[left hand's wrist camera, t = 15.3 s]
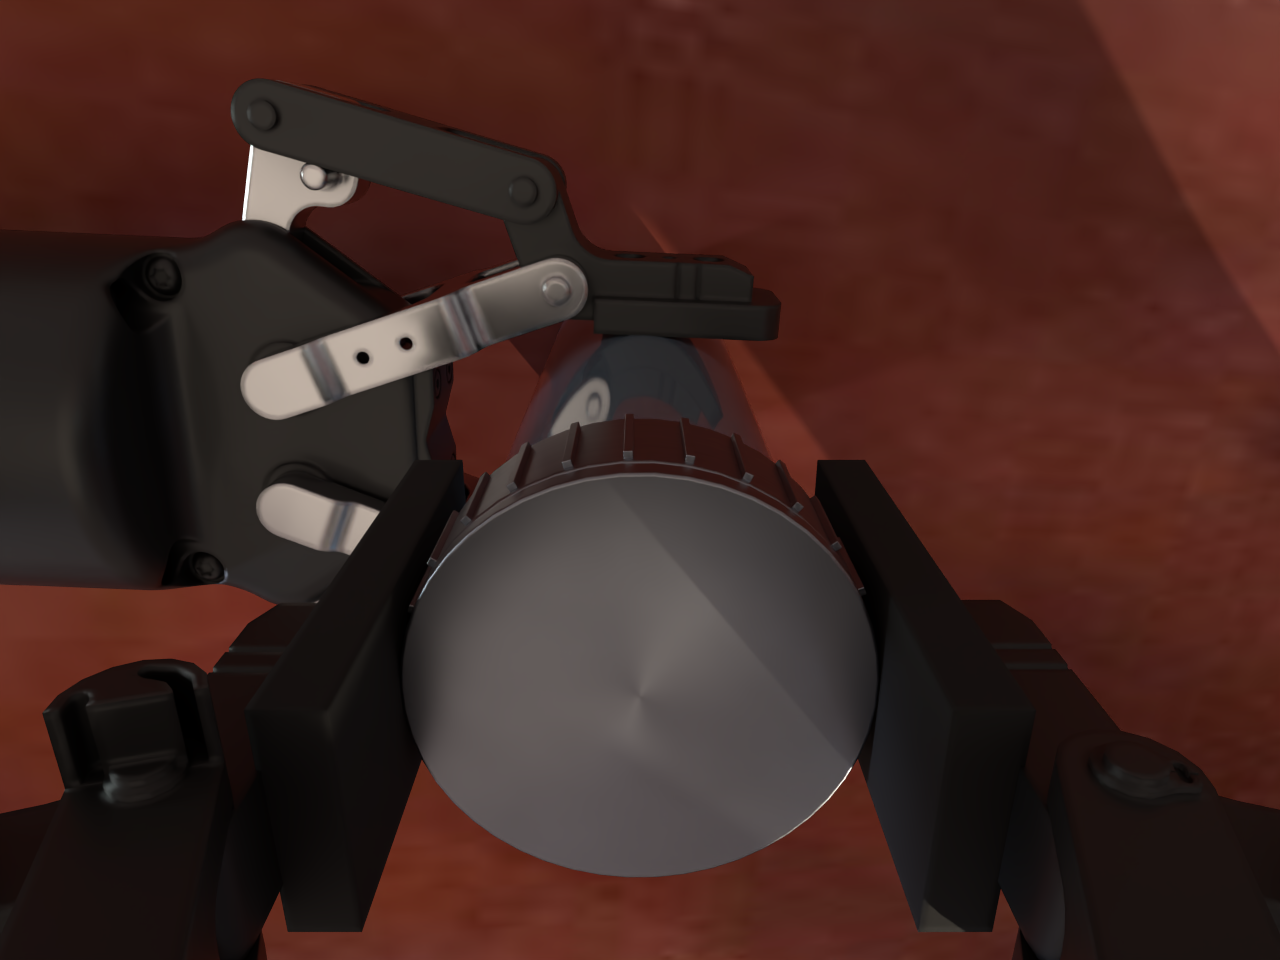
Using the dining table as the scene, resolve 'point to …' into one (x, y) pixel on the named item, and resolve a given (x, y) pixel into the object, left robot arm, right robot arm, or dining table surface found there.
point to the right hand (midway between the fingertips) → (757, 440)
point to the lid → (639, 651)
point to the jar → (637, 385)
